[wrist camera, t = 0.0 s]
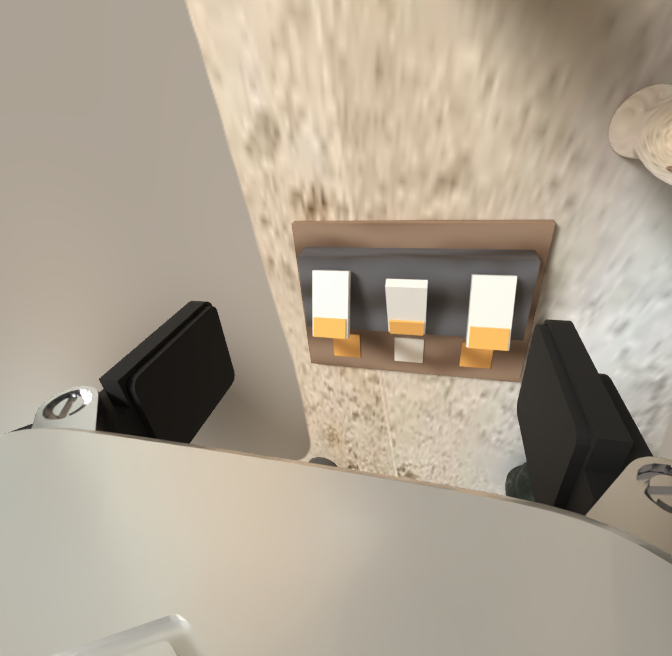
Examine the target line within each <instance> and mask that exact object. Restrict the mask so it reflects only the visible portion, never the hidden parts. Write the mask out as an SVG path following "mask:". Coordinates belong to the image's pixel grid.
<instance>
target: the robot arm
mask: <svg viewBox="0 0 672 656" xmlns="http://www.w3.org/2000/svg"><path fill="white" fill-rule="evenodd" d="M234 375H235V374H234V369H233V366H232V362H231V358H230V355H229V351H228V348H227V344H226V341H225V337H224V334H223V330H222V326H221V323H220V319H219V316H218V312H217V309H216V308H215V307H213V306H212V305H211V303H209V302H202V301H190V302H189V303H187V304H186V305H185V306H184V307H183V308H182V309H180V310H179V311H178V312H177V313H176V314H175V315H173V316H172V317H171V318H170V319H169V320H168V321H166V322H165V323H164V324H163V325H162V326H160V327H159V328H158V329H157V330H156V331H155V332H153V333H152V334H151V335H150V336H149V337H148V338H146V339H145V340H144V341H143V342H142V343H141V344H139V345H138V346H137V347H136V348H135V349H133V350H132V351H131V352H130V353H129V354H128V355H126V356H125V357H124V358H123V359H122V360H121V361H119V362H118V363H117V364H116V365H115V366H114V367H112V368H111V369H110V370H109V371H108V372H107V373H105V374H104V375H103V376H102V377H101V378H99V380H100V382H101V384H102V386H103V388H104V389H103V390H102V391H101V392H98V390H97V389H95V388H94V387H91V386H78V387H74V388H70V389H67V390H65V391H62V392H60V393H58V394H56V395H54V396H52V397H51V398H50V399H48V400H47V401H46V402H44V403H43V404H42V405H41V406H40V407H39V408H38V410H37V412H36V414H35V418H34V421H33V424H30V425H28V426H25V427H22V428H19V429H17V430H14V431H11V432H8V433H4V434H0V656H672V460H669V459H665V458H660V457H653V455H652V453H651V452H650V450H649V448H648V446H647V444H646V442H645V441H644V439H643V437H642V435H641V433H640V431H639V430H638V428H637V426H636V424H635V422H634V420H633V419H632V417H631V415H630V413H629V411H628V409H627V408H626V406H625V404H624V402H623V400H622V398H621V397H620V395H619V393H618V391H617V389H616V387H615V385H614V384H613V382H612V380H611V379H610V377H609V376H608V375H606V374H598V372H597V370H596V368H595V366H594V364H593V362H592V360H591V358H590V356H589V354H588V352H587V350H586V348H585V346H584V344H583V342H582V340H581V338H580V336H579V335H578V333H577V331H576V329H575V327H574V325H573V323H572V322H571V321H563V320H545V321H544V323H543V325H536V327H535V329H534V333H533V337H532V342H531V346H530V350H529V355H528V359H527V363H526V367H525V372H524V376H523V380H522V385H521V389H520V393H519V397H518V402H517V416H518V420H519V425H520V430H521V435H522V440H523V445H524V450H525V454H526V459H527V464H528V469H529V474H530V479H531V484H532V489H533V493H534V498H535V502H532V501H527V500H522V499H517V498H513V497H508V496H503V495H498V494H493V493H487V492H482V491H476V490H470V489H465V488H459V487H453V486H448V485H442V484H437V483H431V482H425V481H419V480H413V479H406V478H400V477H394V476H388V475H382V474H376V473H370V472H364V471H358V470H352V469H346V468H339V467H333V466H327V465H321V464H315V463H308V462H302V461H296V460H289V459H283V458H277V457H271V456H264V455H258V454H251V453H245V452H239V451H233V450H226V449H219V448H213V447H206V446H200V445H193V444H190V442H191V441H192V439H193V438H194V437H195V435H196V434H197V432H198V431H199V429H200V428H201V427H202V425H203V424H204V422H205V421H206V420H207V418H208V417H209V416H210V414H211V413H212V411H213V410H214V409H215V407H216V406H217V404H218V403H219V402H220V400H221V399H222V397H223V396H224V394H225V393H226V392H227V390H228V389H229V388H230V386H231V385H232V383H233V381H234Z"/></svg>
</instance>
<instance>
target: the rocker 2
mask: <svg viewBox="0 0 672 656" xmlns="http://www.w3.org/2000/svg"><path fill="white" fill-rule="evenodd" d="M427 287H428V280H412V279H386V284H385V292H386V304H387V317H388V330H389V332H390V334H405V335H420V336H423V334H425V329H426V309H427Z"/></svg>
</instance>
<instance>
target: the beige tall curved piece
mask: <svg viewBox="0 0 672 656" xmlns="http://www.w3.org/2000/svg"><path fill="white" fill-rule="evenodd" d="M608 137H609V142H610V145H611V147H612V148H613V150H614V151H615V152H616V153H617V154H619V155H621V156H623V157H626V158H630V159H640V160H641V162H642V163H643V164H644V165H645V167H646V168H647V169H648V170H649V171H650V172H651V173H652V174H653V175H654V176H656V177H657V178H658V179H660V180H662V181H664V182H665V183H667V184H669V185H671V186H672V85H669V84H656V85H652V86H648V87H645V88H643V89H641V90H639V91H637V92H636V93H634V94H632V95H631V96H630V97H628V98H627V99H626V100H625V101H624V102H623V103H622V104H621V105H620V106H619V108H618V109H617V110H616V112H615V114H614V115H613V117H612V120H611V122H610V126H609V131H608Z"/></svg>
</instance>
